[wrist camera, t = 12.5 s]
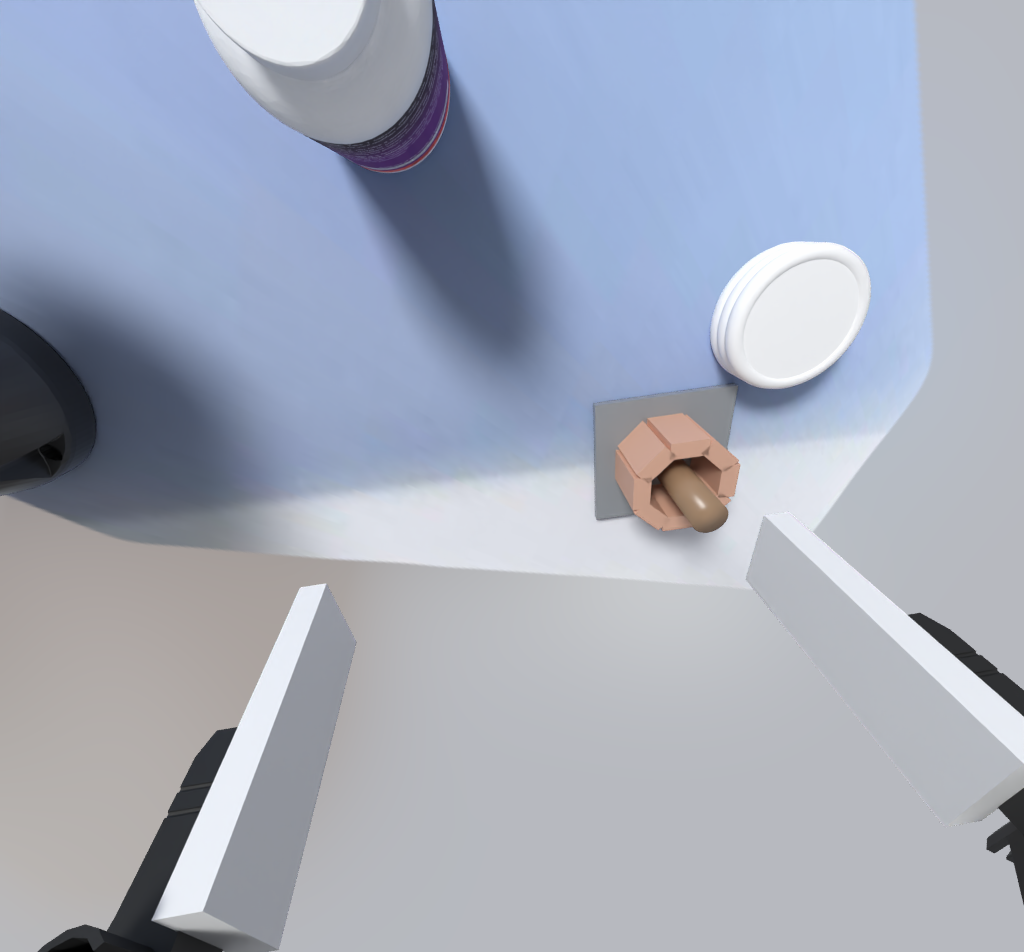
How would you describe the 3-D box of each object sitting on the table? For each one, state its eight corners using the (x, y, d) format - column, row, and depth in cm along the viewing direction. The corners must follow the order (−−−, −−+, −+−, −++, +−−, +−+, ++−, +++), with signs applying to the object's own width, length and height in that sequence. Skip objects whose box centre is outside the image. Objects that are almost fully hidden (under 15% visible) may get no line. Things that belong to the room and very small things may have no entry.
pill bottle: (473, 47, 23) (468, -174, 10) (422, 202, 26) (373, 176, 14) (325, -59, 20) (87, -511, 8) (291, 127, 24) (89, 13, 11)
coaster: (861, 243, 29) (904, 244, 26) (805, 378, 34) (836, 391, 31) (729, 238, 29) (758, 239, 26) (692, 377, 34) (713, 391, 31)
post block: (595, 516, 40) (625, 588, 32) (593, 403, 34) (629, 457, 26) (714, 499, 40) (774, 567, 32) (734, 383, 34) (815, 431, 26)
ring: (614, 502, 39) (631, 535, 35) (616, 422, 34) (635, 449, 30) (701, 490, 39) (728, 521, 35) (713, 408, 34) (746, 433, 30)
